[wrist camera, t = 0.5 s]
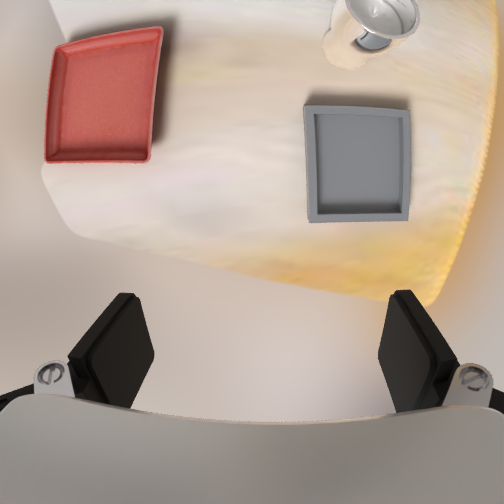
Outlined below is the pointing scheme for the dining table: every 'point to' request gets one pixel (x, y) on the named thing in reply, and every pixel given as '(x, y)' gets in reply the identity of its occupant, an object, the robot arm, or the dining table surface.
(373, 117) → the serving tray
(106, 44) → the plant saucer
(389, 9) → the beer glass
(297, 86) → the dining table surface
